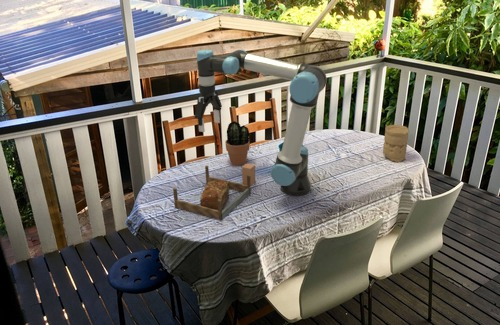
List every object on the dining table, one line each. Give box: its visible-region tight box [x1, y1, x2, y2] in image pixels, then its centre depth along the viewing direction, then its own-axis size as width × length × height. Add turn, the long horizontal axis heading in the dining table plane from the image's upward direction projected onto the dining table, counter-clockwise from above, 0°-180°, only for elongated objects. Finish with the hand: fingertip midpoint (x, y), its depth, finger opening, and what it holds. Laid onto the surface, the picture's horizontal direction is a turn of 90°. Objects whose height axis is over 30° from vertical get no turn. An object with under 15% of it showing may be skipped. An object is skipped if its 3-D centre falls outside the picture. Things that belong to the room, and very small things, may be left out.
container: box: [382, 124, 410, 163], centre depth 255 cm, size 13×13×18 cm
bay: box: [172, 165, 252, 221], centre depth 217 cm, size 26×28×10 cm
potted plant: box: [225, 120, 250, 167], centre depth 253 cm, size 14×14×25 cm
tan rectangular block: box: [241, 163, 256, 187], centre depth 233 cm, size 5×5×10 cm
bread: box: [199, 178, 230, 210], centre depth 215 cm, size 19×11×10 cm, turn 170°
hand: (209, 126), depth 219 cm, fingers open, 13 cm apart
